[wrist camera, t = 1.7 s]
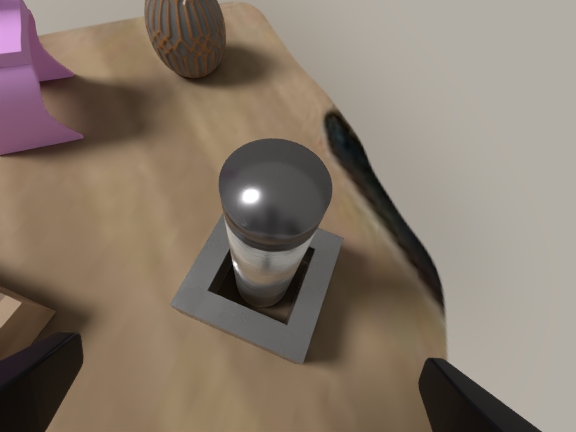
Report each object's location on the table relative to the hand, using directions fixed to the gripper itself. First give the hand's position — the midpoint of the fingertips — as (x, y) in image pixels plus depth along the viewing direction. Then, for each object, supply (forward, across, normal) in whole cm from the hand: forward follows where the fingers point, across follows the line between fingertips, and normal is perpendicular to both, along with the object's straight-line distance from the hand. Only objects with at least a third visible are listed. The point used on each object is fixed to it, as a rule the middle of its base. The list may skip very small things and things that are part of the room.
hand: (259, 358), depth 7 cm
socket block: (+12, 0, +5) cm, 13 cm away
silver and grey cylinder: (+12, 0, +5) cm, 13 cm away
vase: (+27, +9, -10) cm, 31 cm away
